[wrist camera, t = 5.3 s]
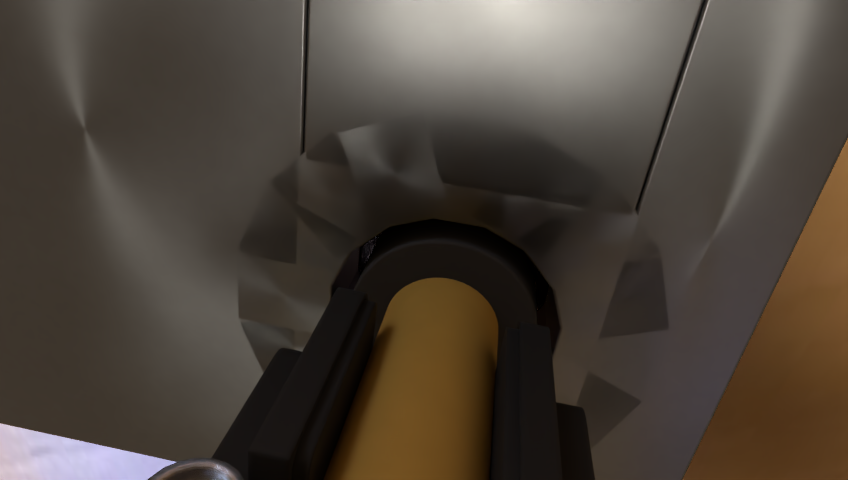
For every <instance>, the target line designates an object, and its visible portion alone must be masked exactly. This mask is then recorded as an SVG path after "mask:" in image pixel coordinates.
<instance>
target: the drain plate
mask: <svg viewBox="0 0 848 480" xmlns="http://www.w3.org/2000/svg"><path fill="white" fill-rule="evenodd" d="M847 138H848V0H0V423H2V424H6V425H11V426H15V427H20V428H25V429H29V430H34V431H38V432H43V433H47V434H52V435H57V436H61V437H66V438H70V439H75V440H80V441H84V442H89V443H93V444H98V445H102V446H107V447H112V448H116V449H121V450H125V451H130V452H135V453H139V454H144V455H148V456H153V457H157V458H162V459H167V460H171V461H176V462H179V461H182V460H187V459H193V458H212V456H213V454H214V453H215V451H216V450H217V448H218V446H219V445H220V443H221V441H222V440H223V438H224V437H225V435H226V433H227V432H228V430H229V428H230V427H231V425H232V424H233V422H234V420H235V419H236V417H237V415H238V414H239V412H240V411H241V409H242V407H243V406H244V404H245V402H246V401H247V399H248V398H249V396H250V394H251V393H252V391H253V389H254V388H255V386H256V384H257V383H258V381H259V380H260V378H261V376H262V375H263V373H264V371H265V370H266V368H267V367H268V365H269V363H270V362H271V360H272V358H273V357H274V355H275V354H276V353H277V351H278V350H279V349H281V348H287V349H292V350H297V351H303V349H304V347H305V346H306V344H307V342H308V340H309V338H310V337H311V335H312V333H313V331H314V329H315V327H316V326H317V324H318V322H319V320H320V318H321V317H322V315H323V313H324V311H325V309H326V307H327V306H328V304H329V302H330V300H331V298H332V297H333V295H334V293H335V291H336V290H337V288H339V287H341V288H346V289H351V290H354V288H355V286H356V284H357V282H358V280H359V278H360V274H359V271H358V262H359V250H360V246H362V245H363V244H365V243H366V242H368V241H369V240H371V239H372V238H374V237H375V236H377V235H378V234H380V233H381V232H383V231H384V230H386V229H387V228H389V227H392V226H397V225H402V224H407V223H413V222H418V221H423V220H428V219H438V220H444V221H449V222H455V223H461V224H466V225H472V226H478V227H483V228H486V229H488V230H489V231H491V232H493V233H494V234H496V235H498V236H499V237H501V238H503V239H504V240H506V241H508V242H510V243H511V244H513V245H515V246H516V247H518V248H520V249H521V250H523V251H524V252H525V253H526V255H527V256H528V257H529V259H530V260H531V261H532V263H533V264H534V265H535V267H536V268H537V269H538V271H539V272H540V273H541V275H542V276H543V277H544V279H545V280H546V281H547V283H548V284H549V289H548V293H547V297H546V300H545V304H544V305H543V306H542V307H541V309H540V310H539V311H538V312H537V325H541V326H546V327H549V328H550V336H551V348H552V360H553V372H554V384H555V396H556V402H558V403H563V404H568V405H573V406H578V407H582V408H583V409H584V411H585V416H586V421H587V428H588V435H589V441H590V448H591V455H592V462H593V469H594V475H595V480H682V479H683V477H684V475H685V473H686V471H687V469H688V467H689V464H690V462H691V460H692V458H693V456H694V454H695V452H696V450H697V448H698V446H699V444H700V442H701V440H702V438H703V436H704V433H705V431H706V429H707V427H708V425H709V423H710V421H711V419H712V417H713V415H714V413H715V411H716V409H717V407H718V405H719V402H720V400H721V398H722V396H723V394H724V392H725V390H726V388H727V386H728V384H729V382H730V380H731V378H732V376H733V374H734V371H735V369H736V367H737V365H738V363H739V361H740V359H741V357H742V355H743V353H744V351H745V349H746V347H747V345H748V342H749V340H750V338H751V336H752V334H753V332H754V330H755V328H756V326H757V324H758V322H759V320H760V318H761V316H762V314H763V311H764V309H765V307H766V305H767V303H768V301H769V299H770V297H771V295H772V293H773V291H774V289H775V287H776V285H777V283H778V280H779V278H780V276H781V274H782V272H783V270H784V268H785V266H786V264H787V262H788V260H789V258H790V256H791V254H792V252H793V249H794V247H795V245H796V243H797V241H798V239H799V237H800V235H801V233H802V231H803V229H804V227H805V225H806V223H807V221H808V218H809V216H810V214H811V212H812V210H813V208H814V206H815V204H816V202H817V200H818V198H819V196H820V194H821V192H822V190H823V187H824V185H825V183H826V181H827V179H828V177H829V175H830V173H831V171H832V169H833V167H834V165H835V163H836V161H837V159H838V156H839V154H840V152H841V150H842V148H843V146H844V144H845V142H846V140H847Z"/></svg>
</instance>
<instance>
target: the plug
mask: <svg viewBox="0 0 848 480" xmlns="http://www.w3.org/2000/svg"><path fill="white" fill-rule="evenodd" d="M354 290H356V291H362V292H367V294H368V301H373V302H377V312H376V321H375V331H374V340H373V348H372V351H371V353H370V356H369V359H368V362H367V364H366V367H365V370H364V372H363V375H362V378H361V380H360V383H359V386H358V388H357V391H356V394H355V396H354V399H353V402H352V404H351V407H350V410H349V412H348V415H347V418H346V420H345V423H344V426H343V428H342V431H341V434H340V436H339V439H338V442H337V444H336V447H335V450H334V452H333V455H332V458H331V460H330V463H329V466H328V469H327V471H326V474H325V477H324V479H323V480H490V462H491V444H492V426H493V408H494V390H495V372H496V367H497V363H498V359H499V354H500V350H501V346H502V342H503V337H504V333H505V330H506V327H510V328H515V329H517V325H518V323H519V321H520V322H525V323H531V324H536V325H537V304H536V285H535V267H534V264H533V263H532V261H531V260H530V259H529V257H528V256H527V255H526V253H525V252H524V251H523V250H521V249H520V248H518V247H516V246H515V245H513V244H511V243H510V242H508V241H506V240H504V239H503V238H501V237H499V236H498V235H496V234H494V233H493V232H491V231H489V230H488V229H486V228H483V227H478V226H472V225H466V224H461V223H455V222H449V221H444V220H438V219H428V220H423V221H418V222H413V223H407V224H402V225H397V226H392V227H389V228H387V229H386V230H384V231H383V232H382V234H381V235H380V237H379V239H378V241H377V243H376V245H375V247H374V249H373V251H372V254H371V256H370V258H369V260H368V262H367V264H366V266H365V268H364V270H363V272H362V274H361V276H360V278H359V280H358V282H357V284H356V286H355V288H354Z"/></svg>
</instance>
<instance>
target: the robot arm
mask: <svg viewBox="0 0 848 480" xmlns="http://www.w3.org/2000/svg"><path fill="white" fill-rule="evenodd" d="M376 312H377V302H373V301H368V294H367V292H362V291H356V290H351V289H346V288H341V287H339V288H337V290H336V291H335V293H334V295H333V297H332V298H331V300H330V302H329V304H328V306H327V307H326V309H325V311H324V313H323V315H322V317H321V318H320V320H319V322H318V324H317V326H316V327H315V329H314V331H313V333H312V335H311V337H310V338H309V340H308V342H307V344H306V346H305V347H304V349H303V351H297V350H292V349H287V348H281V349H279V350H278V351H277V353H276V354H275V355H274V357H273V358H272V360H271V362H270V363H269V365H268V367H267V368H266V370H265V371H264V373H263V375H262V376H261V378H260V380H259V381H258V383H257V384H256V386H255V388H254V389H253V391H252V393H251V394H250V396H249V398H248V399H247V401H246V402H245V404H244V406H243V407H242V409H241V411H240V412H239V414H238V415H237V417H236V419H235V420H234V422H233V424H232V425H231V427H230V428H229V430H228V432H227V433H226V435H225V437H224V438H223V440H222V441H221V443H220V445H219V446H218V448H217V450H216V451H215V453H214V454H213V456H212V458H193V459H187V460H182V461H179V462H176V463H174V464H172V465H169V466H167V467H165V468H163V469H161V470H160V471H159V472H157V473H156V474H154V475H153V476H152V477H150V478H149V479H148V480H323V479H324V477H325V474H326V471H327V469H328V466H329V463H330V460H331V458H332V455H333V452H334V450H335V447H336V444H337V442H338V439H339V436H340V434H341V431H342V428H343V426H344V423H345V420H346V418H347V415H348V412H349V410H350V407H351V404H352V402H353V399H354V396H355V394H356V391H357V388H358V386H359V383H360V380H361V378H362V375H363V372H364V370H365V367H366V364H367V362H368V359H369V356H370V353H371V351H372V348H373V340H374V331H375V321H376ZM490 480H595V475H594V469H593V462H592V455H591V448H590V441H589V435H588V428H587V421H586V416H585V411H584V409H583V408H582V407H578V406H573V405H568V404H563V403H558V402H556V396H555V384H554V372H553V360H552V348H551V336H550V328H549V327H546V326H541V325H536V324H531V323H525V322H520V321H519V323H518V325H517V329H515V328H510V327H506V330H505V333H504V337H503V342H502V346H501V350H500V354H499V359H498V363H497V367H496V372H495V390H494V408H493V426H492V444H491V462H490Z"/></svg>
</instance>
